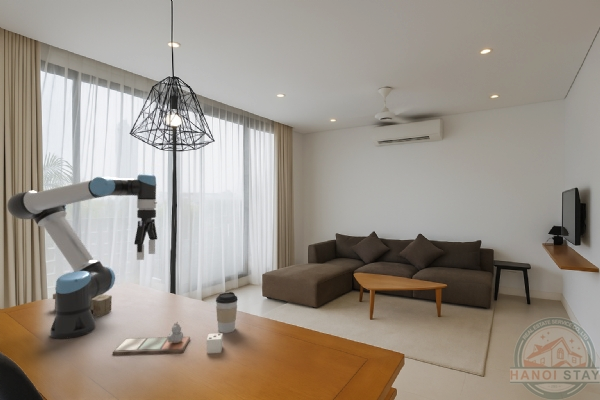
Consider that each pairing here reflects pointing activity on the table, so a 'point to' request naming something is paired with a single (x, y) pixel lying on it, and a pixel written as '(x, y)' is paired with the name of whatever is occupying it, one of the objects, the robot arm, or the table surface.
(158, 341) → the game board
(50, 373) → the table surface
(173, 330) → the white lumpy piece
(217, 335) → the die
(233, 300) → the coffee cup
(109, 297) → the block tower
